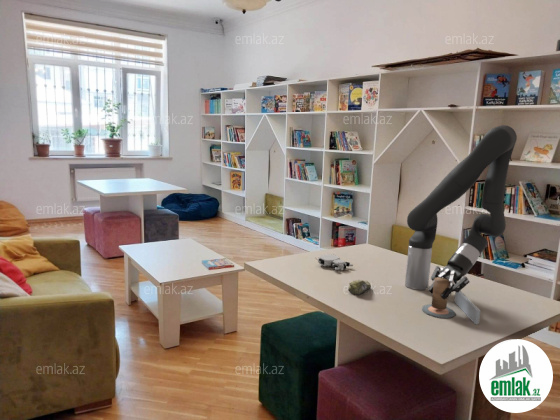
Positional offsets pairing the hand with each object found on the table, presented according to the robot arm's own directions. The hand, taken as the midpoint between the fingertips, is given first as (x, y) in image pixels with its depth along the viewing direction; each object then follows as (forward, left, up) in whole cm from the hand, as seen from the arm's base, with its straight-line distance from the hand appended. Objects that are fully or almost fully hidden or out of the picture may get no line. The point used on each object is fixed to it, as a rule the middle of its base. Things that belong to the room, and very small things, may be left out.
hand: (436, 295), depth 150 cm
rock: (-18, -24, -7) cm, 31 cm away
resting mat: (-1, +1, -7) cm, 7 cm away
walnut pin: (-1, +2, -5) cm, 5 cm away
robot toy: (-48, -33, -7) cm, 58 cm away
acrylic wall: (-2, +11, -7) cm, 13 cm away
